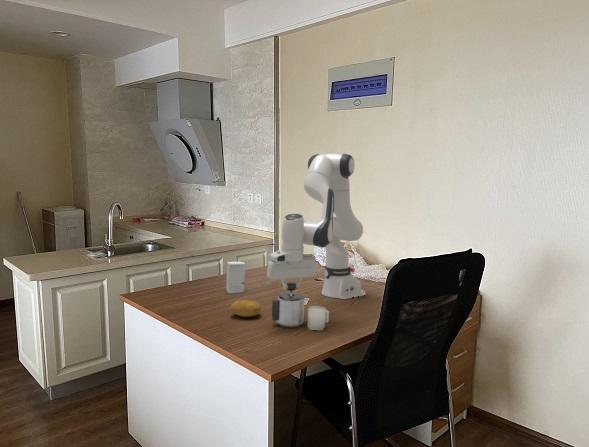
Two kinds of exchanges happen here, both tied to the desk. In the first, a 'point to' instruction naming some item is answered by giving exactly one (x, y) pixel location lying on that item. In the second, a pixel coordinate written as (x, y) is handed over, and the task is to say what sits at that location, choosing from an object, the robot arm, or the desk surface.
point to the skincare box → (235, 277)
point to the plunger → (291, 287)
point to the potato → (246, 308)
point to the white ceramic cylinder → (317, 317)
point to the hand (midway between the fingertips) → (291, 288)
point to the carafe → (288, 309)
